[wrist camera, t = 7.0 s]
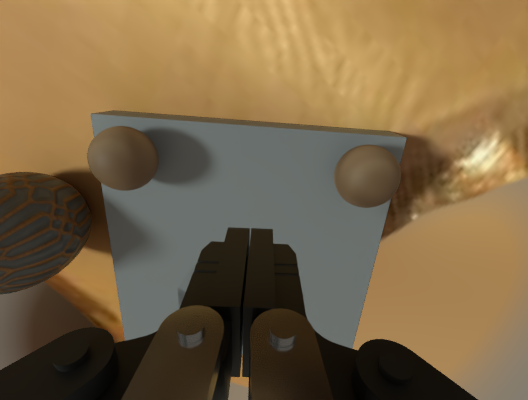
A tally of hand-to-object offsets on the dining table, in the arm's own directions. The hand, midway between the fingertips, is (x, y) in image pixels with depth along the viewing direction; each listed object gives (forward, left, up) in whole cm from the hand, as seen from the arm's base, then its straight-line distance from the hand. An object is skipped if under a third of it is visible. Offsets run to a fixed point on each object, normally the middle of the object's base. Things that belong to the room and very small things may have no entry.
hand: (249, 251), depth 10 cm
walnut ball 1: (-1, -7, -6) cm, 10 cm away
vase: (+4, -14, -11) cm, 18 cm away
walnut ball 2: (-1, +6, -6) cm, 9 cm away
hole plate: (+6, -1, -11) cm, 12 cm away
